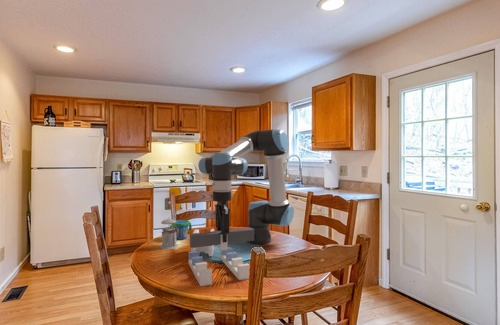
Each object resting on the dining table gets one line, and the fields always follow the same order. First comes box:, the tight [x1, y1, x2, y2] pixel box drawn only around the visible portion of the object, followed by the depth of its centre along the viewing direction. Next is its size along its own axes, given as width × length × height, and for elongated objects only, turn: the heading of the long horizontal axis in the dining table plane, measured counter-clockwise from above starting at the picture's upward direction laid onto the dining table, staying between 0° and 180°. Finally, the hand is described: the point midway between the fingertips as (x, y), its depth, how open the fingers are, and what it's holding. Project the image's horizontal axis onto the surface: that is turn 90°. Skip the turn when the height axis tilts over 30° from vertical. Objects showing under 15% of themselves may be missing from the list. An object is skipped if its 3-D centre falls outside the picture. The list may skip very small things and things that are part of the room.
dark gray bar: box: [189, 227, 254, 249], centre depth 121 cm, size 26×4×4 cm, turn 111°
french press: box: [159, 201, 179, 251], centre depth 163 cm, size 10×12×25 cm
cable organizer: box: [190, 228, 215, 257], centre depth 151 cm, size 15×11×12 cm
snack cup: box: [169, 219, 193, 241], centre depth 181 cm, size 16×10×10 cm
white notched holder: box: [188, 246, 251, 287], centre depth 129 cm, size 20×26×6 cm
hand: (222, 248), depth 121 cm, fingers closed on dark gray bar, 4 cm apart
